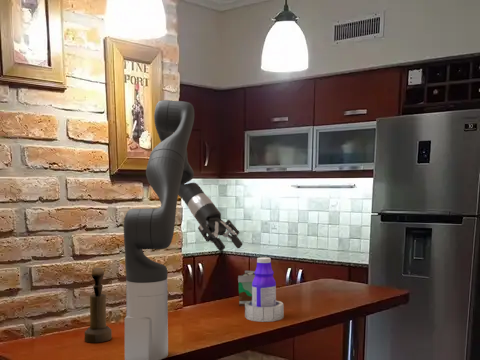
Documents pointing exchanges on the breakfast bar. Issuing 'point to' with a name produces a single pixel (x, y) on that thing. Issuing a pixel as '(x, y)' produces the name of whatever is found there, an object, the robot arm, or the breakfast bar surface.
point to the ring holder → (264, 312)
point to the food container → (245, 287)
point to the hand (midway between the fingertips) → (231, 248)
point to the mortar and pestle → (98, 312)
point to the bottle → (263, 284)
